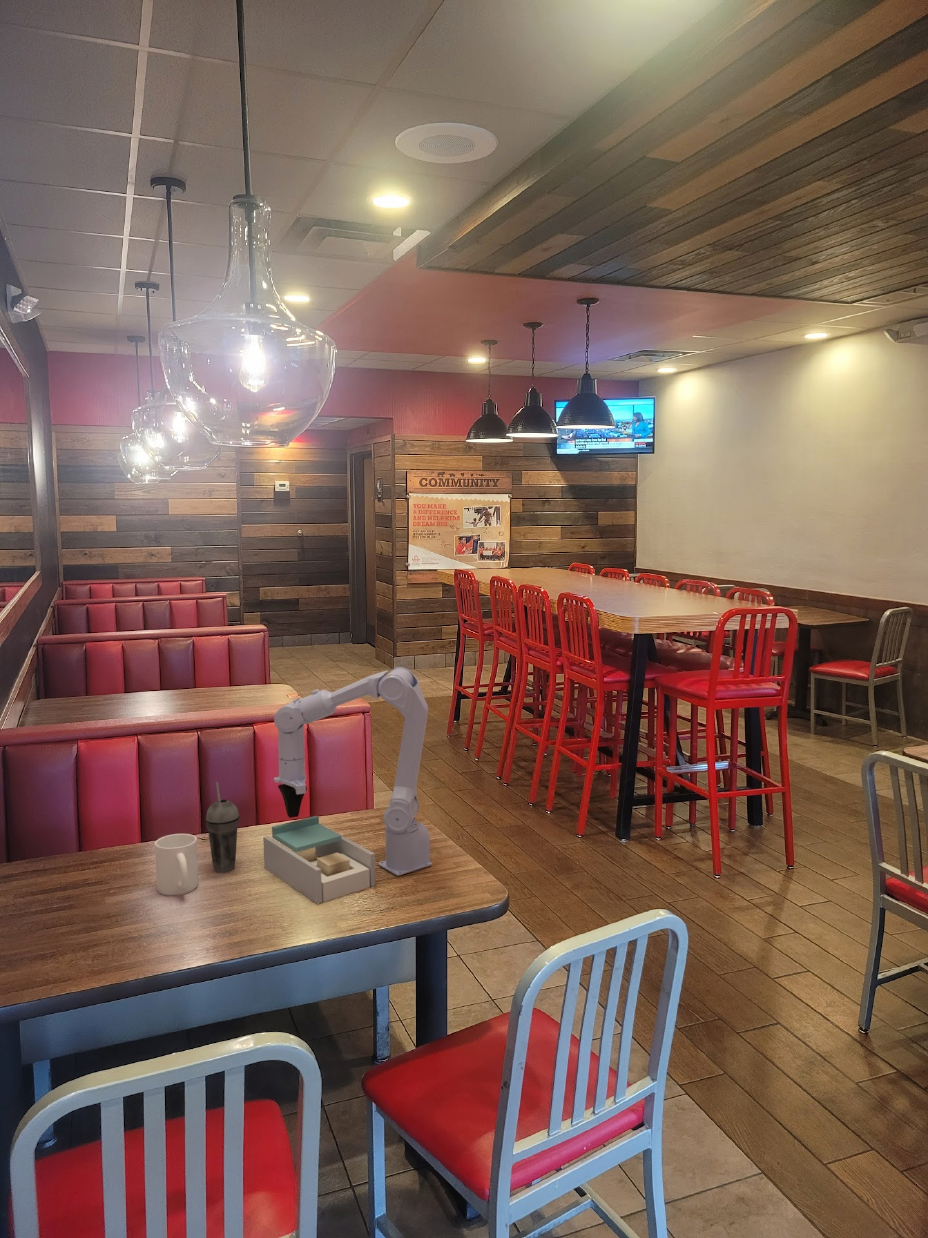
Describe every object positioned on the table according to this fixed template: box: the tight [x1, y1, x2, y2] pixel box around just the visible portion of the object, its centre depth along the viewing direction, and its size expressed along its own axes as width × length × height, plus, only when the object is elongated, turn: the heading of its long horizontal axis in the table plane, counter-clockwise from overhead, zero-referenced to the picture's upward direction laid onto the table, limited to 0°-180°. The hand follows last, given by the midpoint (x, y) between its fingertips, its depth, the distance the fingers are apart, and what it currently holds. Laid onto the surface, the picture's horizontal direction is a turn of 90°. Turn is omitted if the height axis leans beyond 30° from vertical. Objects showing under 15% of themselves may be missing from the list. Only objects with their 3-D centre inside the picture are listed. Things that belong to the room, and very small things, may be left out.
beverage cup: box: [204, 781, 240, 874], centre depth 189 cm, size 7×7×20 cm
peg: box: [316, 853, 350, 877], centre depth 181 cm, size 5×5×6 cm
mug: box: [154, 833, 199, 897], centre depth 179 cm, size 12×8×10 cm
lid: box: [271, 815, 343, 853], centre depth 189 cm, size 11×11×2 cm
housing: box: [263, 825, 376, 905], centre depth 186 cm, size 14×24×7 cm, turn 39°
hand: (293, 816), depth 193 cm, fingers closed
